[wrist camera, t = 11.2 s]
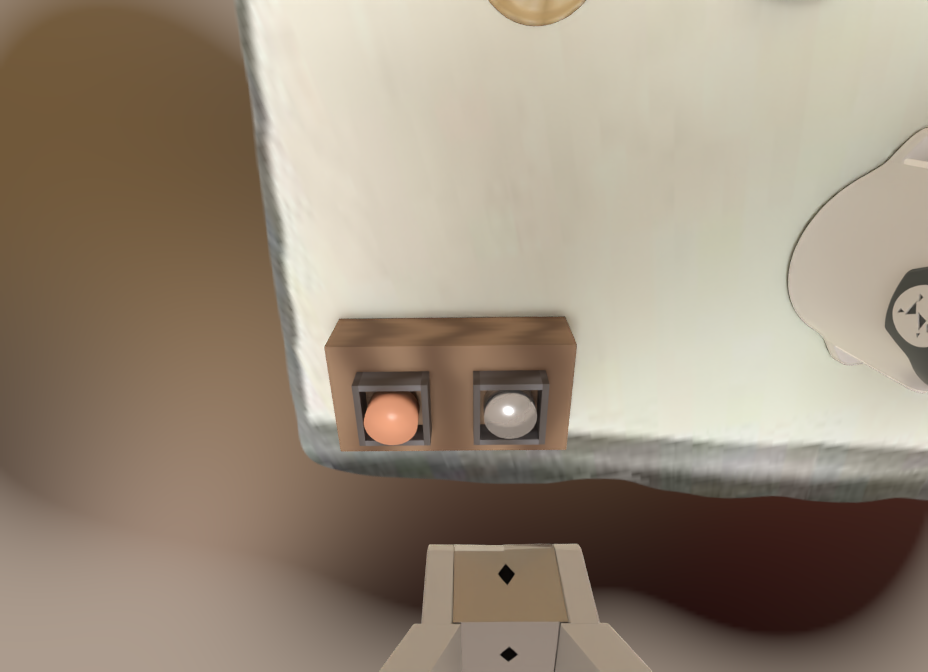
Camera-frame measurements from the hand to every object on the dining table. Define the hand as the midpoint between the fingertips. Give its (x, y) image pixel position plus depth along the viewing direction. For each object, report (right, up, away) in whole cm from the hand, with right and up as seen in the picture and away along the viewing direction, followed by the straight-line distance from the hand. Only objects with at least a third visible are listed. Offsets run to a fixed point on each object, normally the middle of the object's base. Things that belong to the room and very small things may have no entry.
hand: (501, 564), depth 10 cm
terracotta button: (-6, -1, +29) cm, 30 cm away
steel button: (+3, -1, +29) cm, 30 cm away
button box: (-2, +2, +34) cm, 34 cm away
